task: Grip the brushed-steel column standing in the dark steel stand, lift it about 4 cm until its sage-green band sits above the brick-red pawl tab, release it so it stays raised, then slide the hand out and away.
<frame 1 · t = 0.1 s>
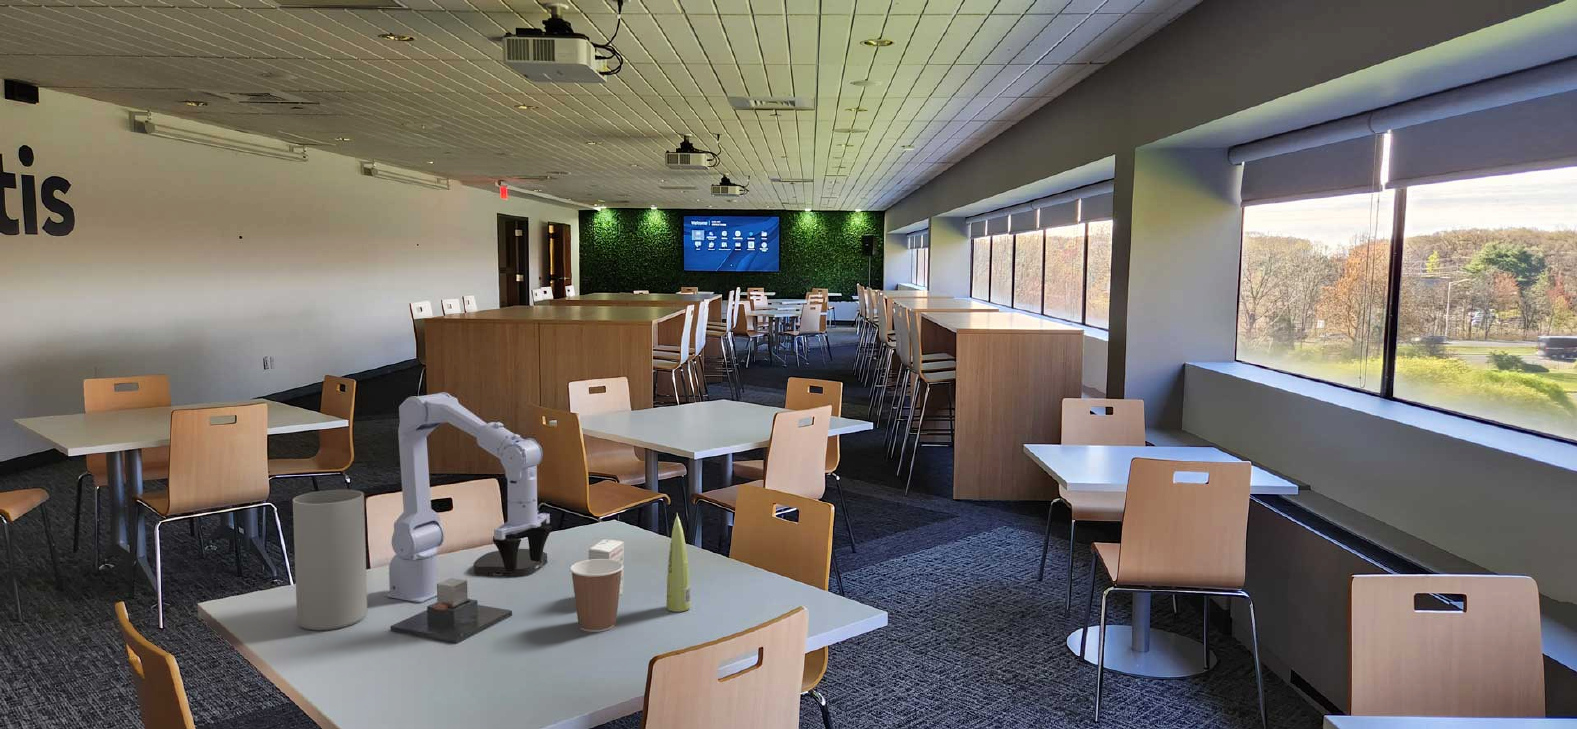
hand: (523, 565, 183), 10 cm above the table, fingers open, 7 cm apart
tube: (678, 609, 189), on the table
cylinder vase: (332, 621, 180), on the table
coffee cup: (597, 626, 178), on the table
media streaming box: (511, 569, 215), on the table
stand: (452, 623, 179), on the table
ink box: (606, 599, 194), on the table
column: (452, 599, 178), point 5 cm above the table, slide at 0.0 cm
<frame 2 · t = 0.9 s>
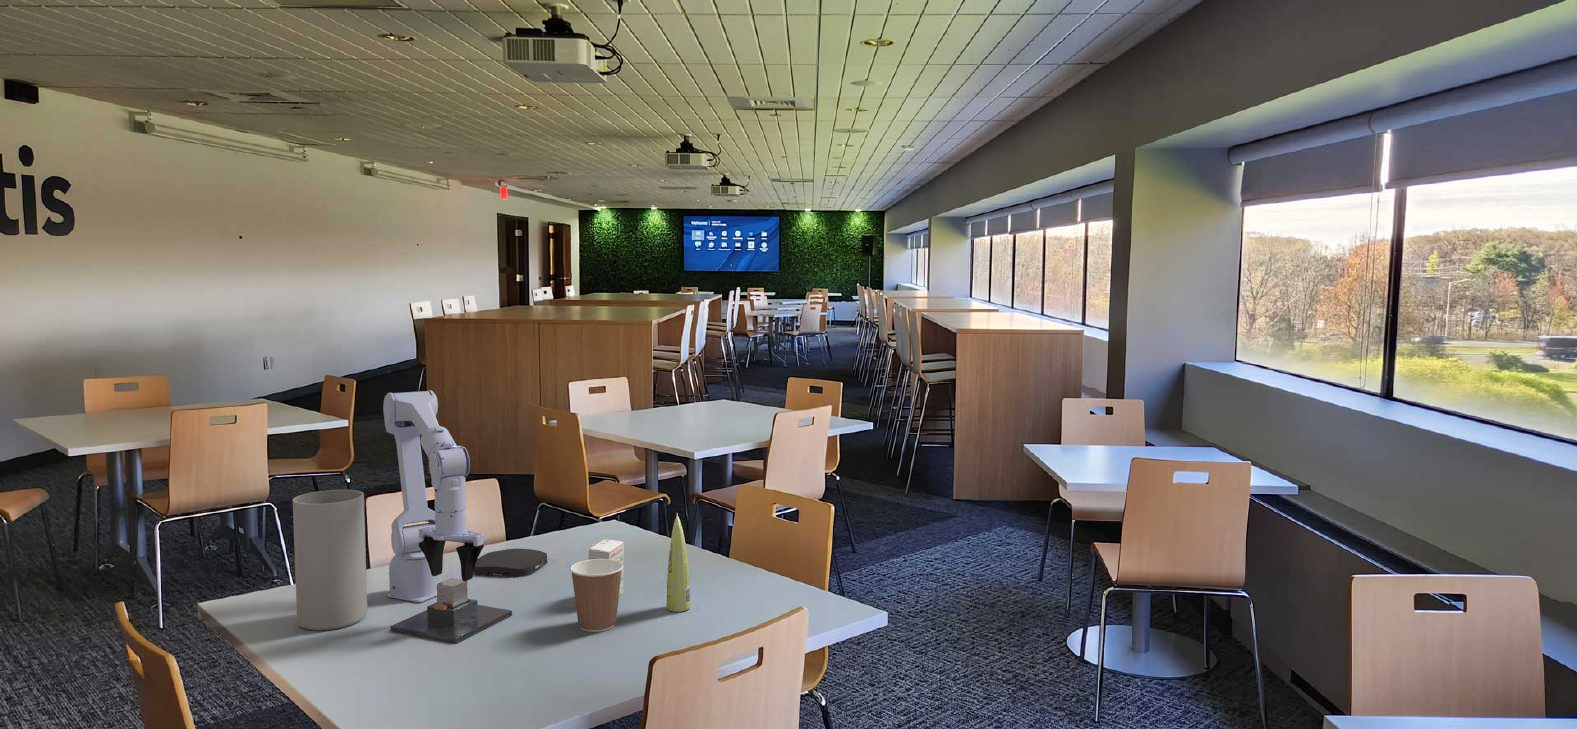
hand: (452, 577, 178), 9 cm above the table, fingers open, 7 cm apart
nothing on the table moved.
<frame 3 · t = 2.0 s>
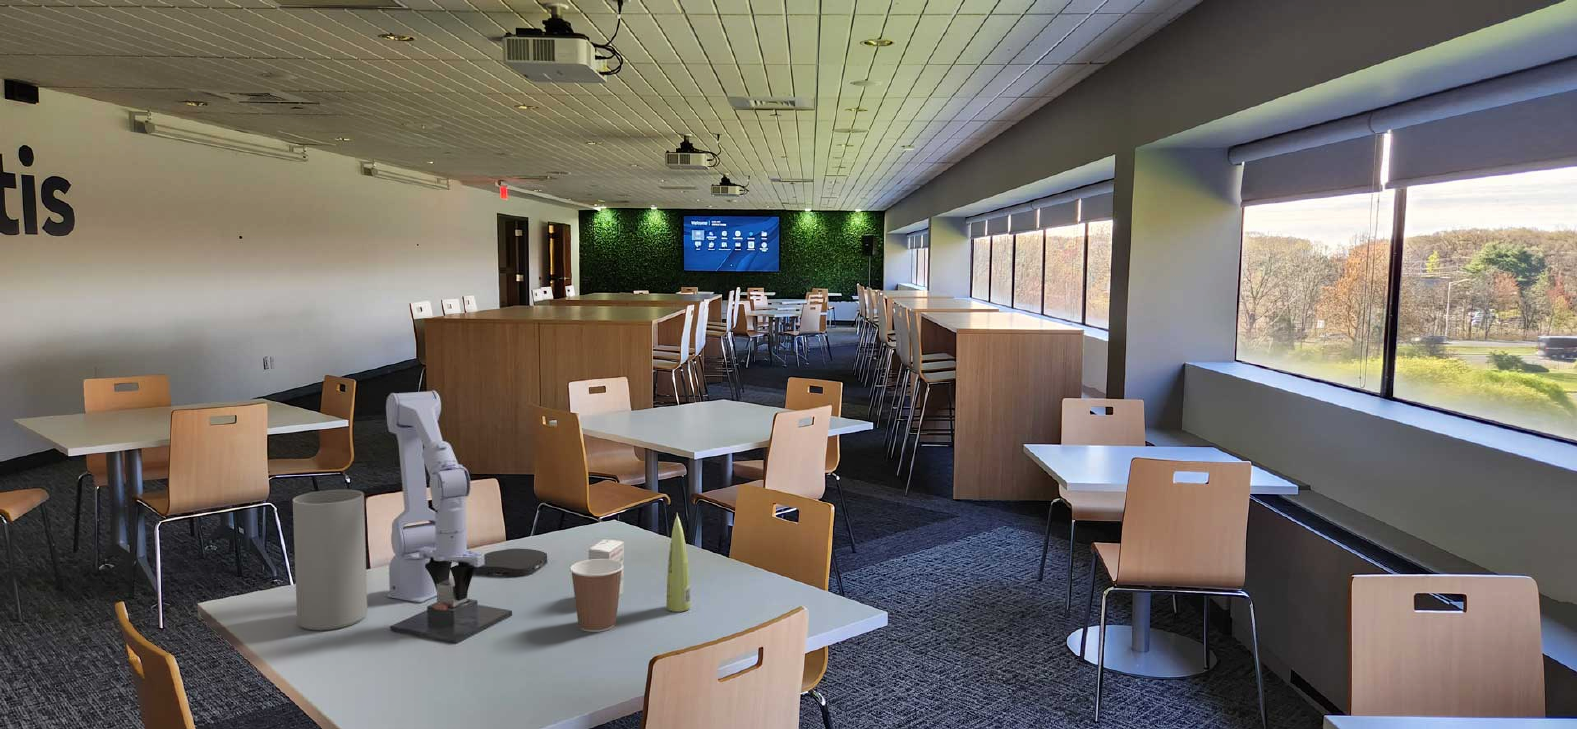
hand: (452, 597, 178), 5 cm above the table, fingers closed on column, 4 cm apart
column: (452, 599, 178), point 5 cm above the table, slide at 0.0 cm, touching gripper
everything else where it was.
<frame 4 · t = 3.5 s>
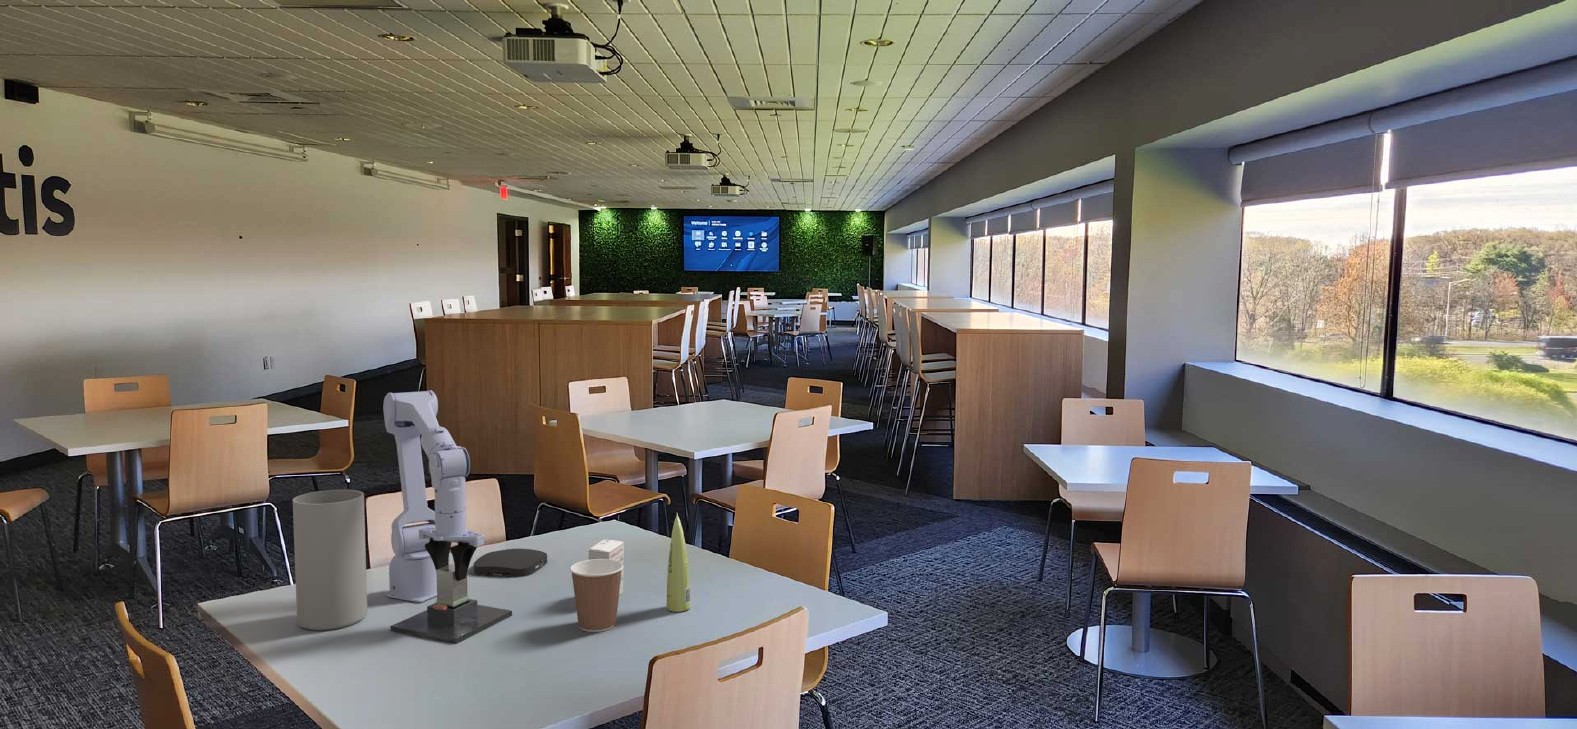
hand: (451, 577, 178), 9 cm above the table, fingers closed on column, 4 cm apart
column: (452, 585, 178), point 8 cm above the table, slide at 2.8 cm, touching gripper
everything else where it was.
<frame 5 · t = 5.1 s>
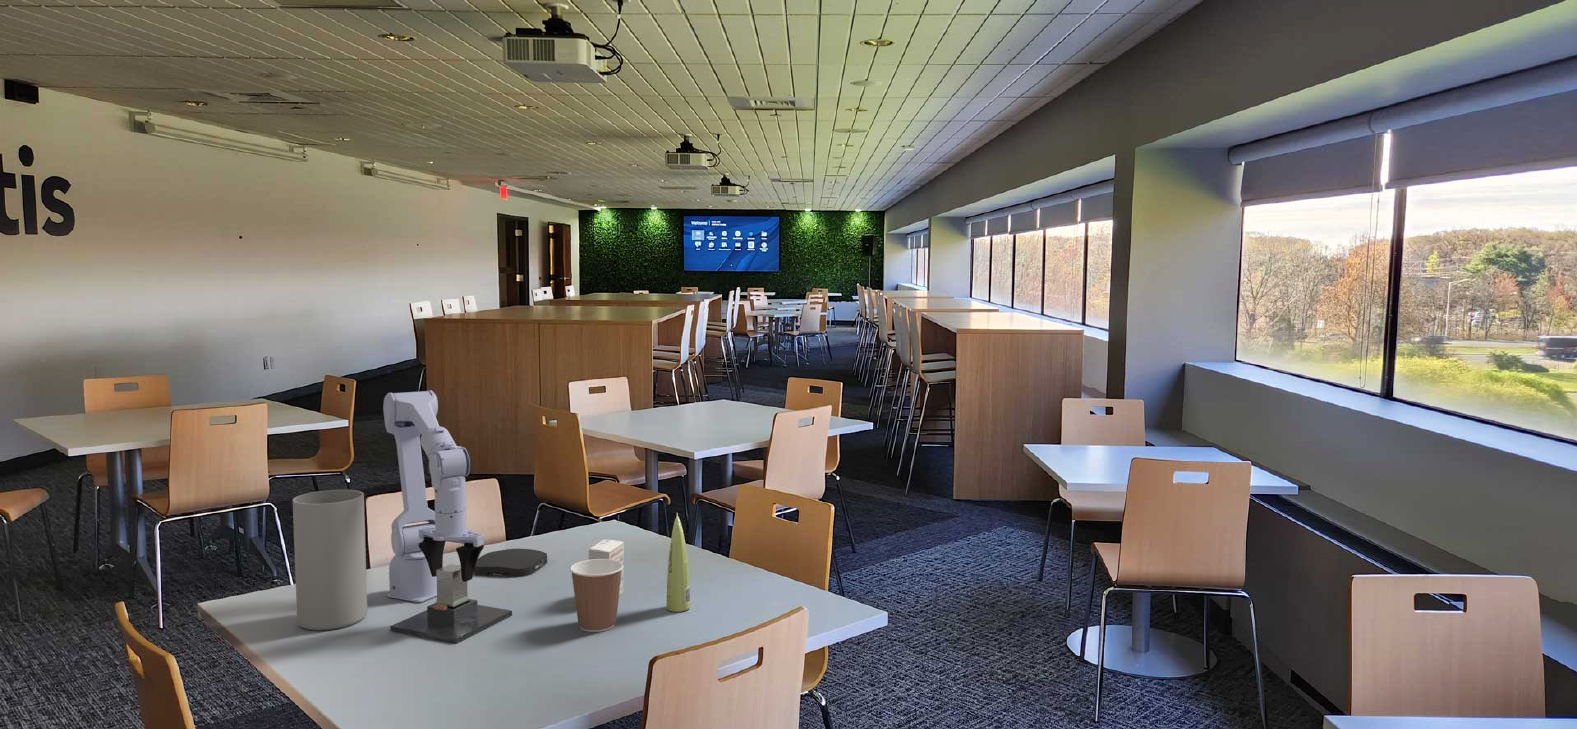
hand: (451, 577, 178), 9 cm above the table, fingers open, 7 cm apart
column: (452, 585, 178), point 8 cm above the table, slide at 2.8 cm
everything else where it was.
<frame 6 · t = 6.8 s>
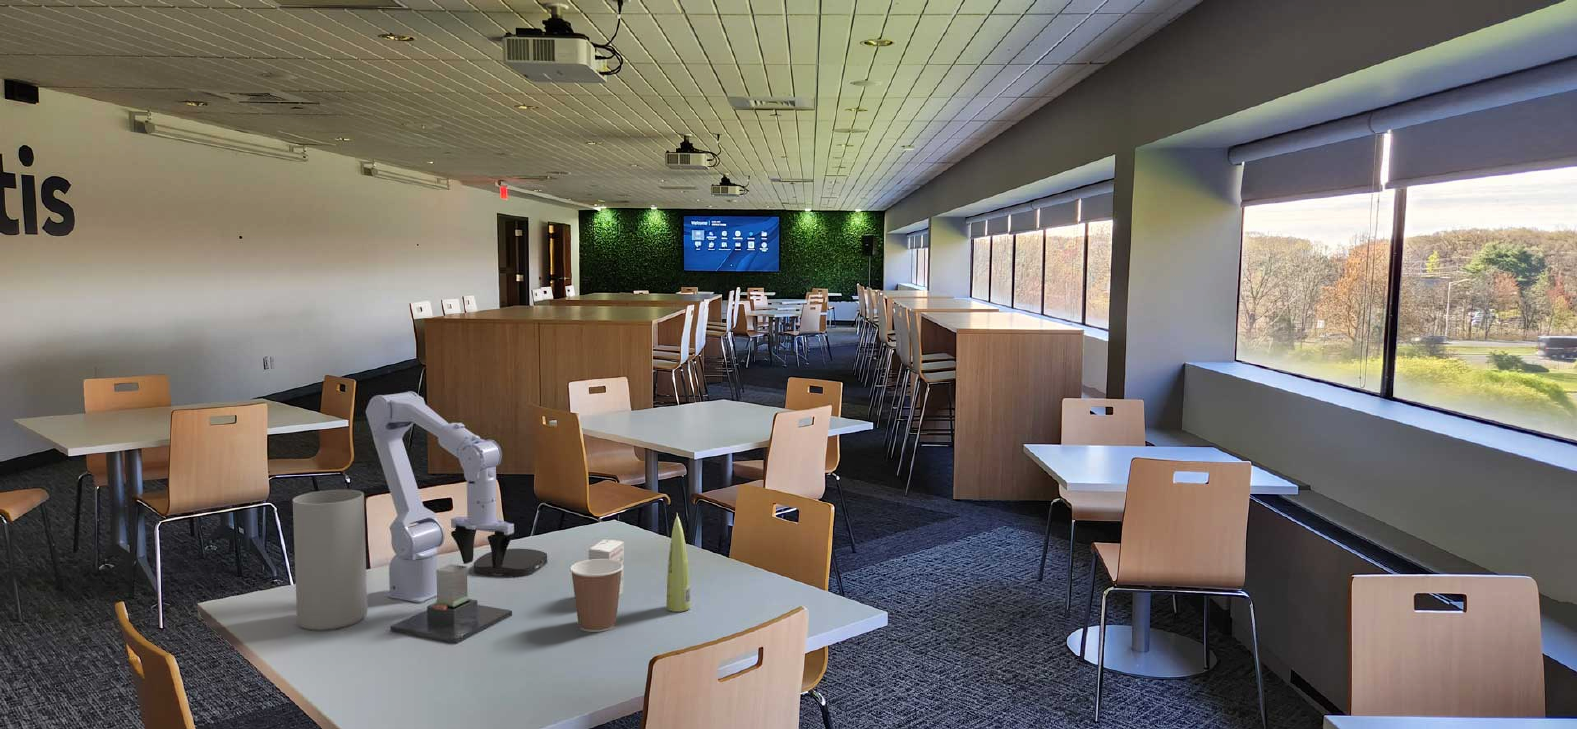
hand: (482, 564, 187), 9 cm above the table, fingers open, 7 cm apart
nothing on the table moved.
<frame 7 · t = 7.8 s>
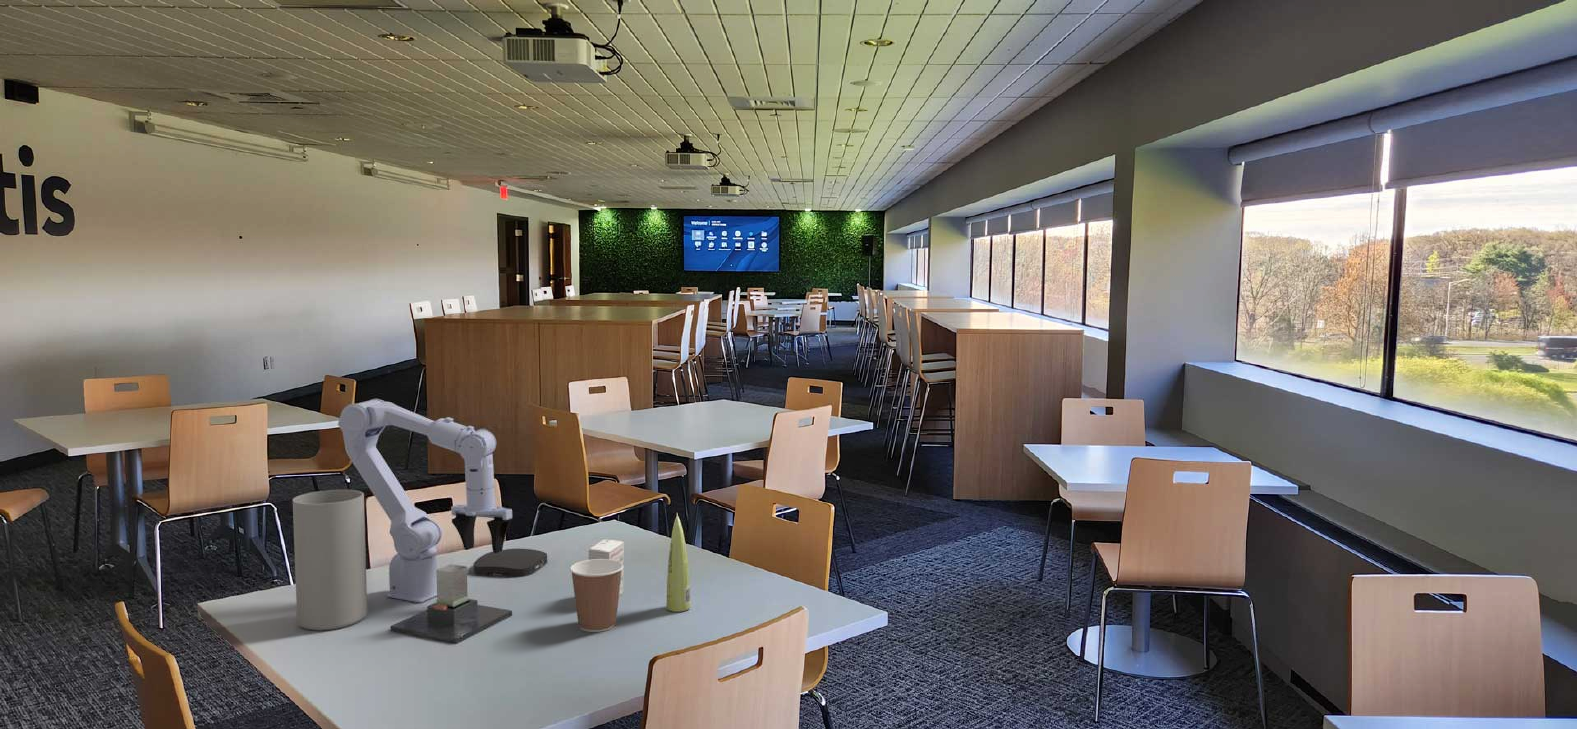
hand: (483, 550, 193), 10 cm above the table, fingers open, 7 cm apart
nothing on the table moved.
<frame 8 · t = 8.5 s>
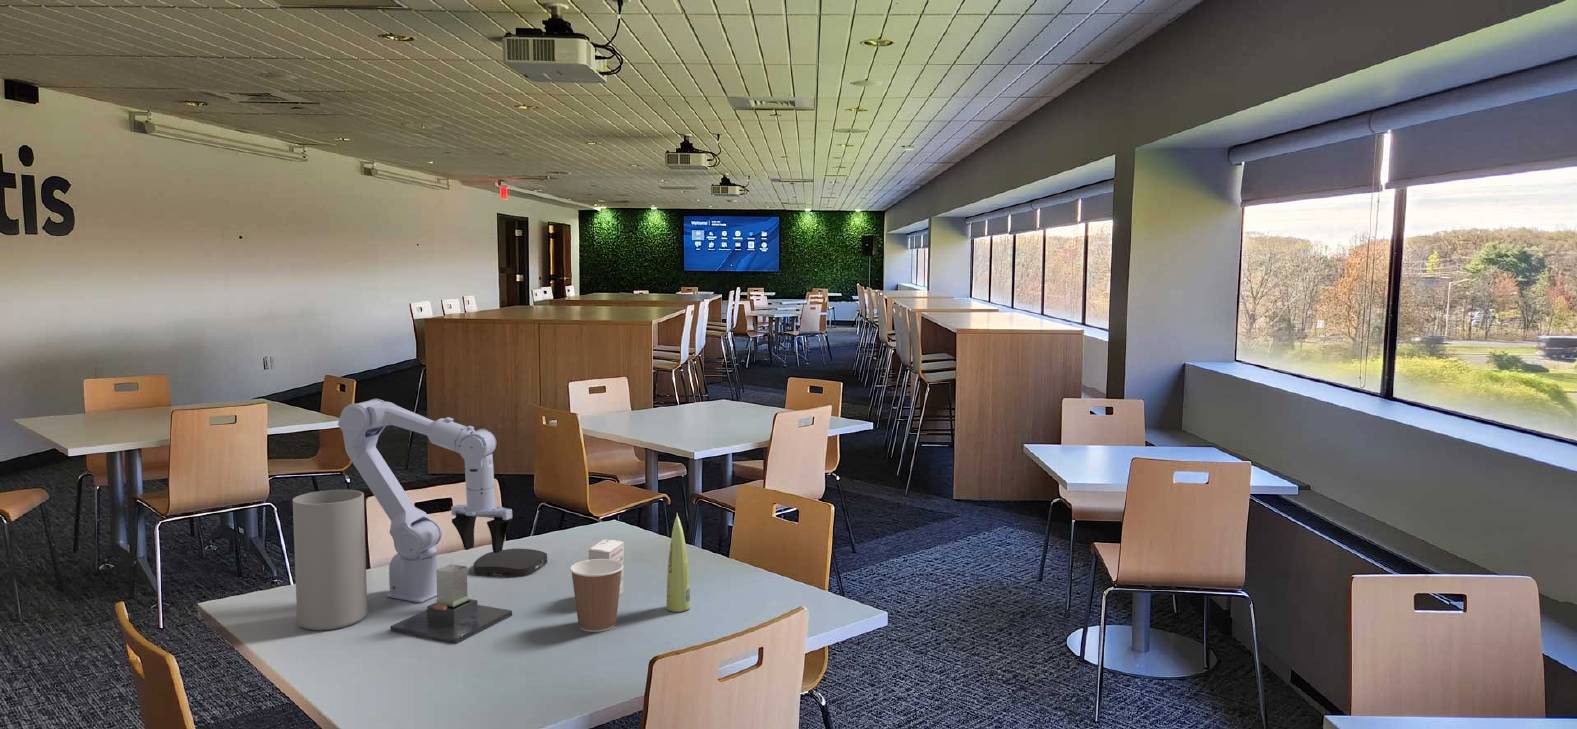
hand: (483, 550, 193), 10 cm above the table, fingers open, 7 cm apart
nothing on the table moved.
at the end: column slide at 2.8 cm; the gripper is holding nothing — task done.
